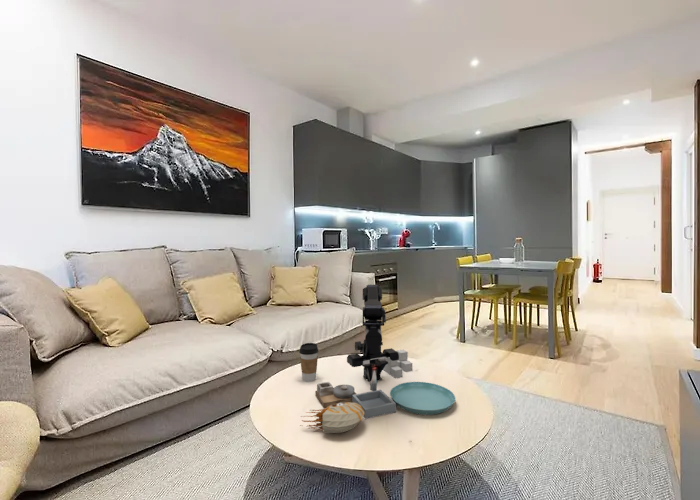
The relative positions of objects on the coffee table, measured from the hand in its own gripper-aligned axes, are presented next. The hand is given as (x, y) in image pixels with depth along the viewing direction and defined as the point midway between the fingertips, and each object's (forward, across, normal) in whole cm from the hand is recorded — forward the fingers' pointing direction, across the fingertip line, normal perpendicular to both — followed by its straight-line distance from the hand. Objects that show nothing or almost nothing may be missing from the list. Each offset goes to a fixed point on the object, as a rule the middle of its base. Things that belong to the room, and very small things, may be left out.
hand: (373, 380), depth 132 cm
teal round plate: (+11, -19, +3) cm, 22 cm away
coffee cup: (+11, +15, -34) cm, 39 cm away
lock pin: (+4, 0, 0) cm, 4 cm away
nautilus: (+11, +18, +7) cm, 22 cm away
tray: (+10, 0, 0) cm, 10 cm away
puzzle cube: (+11, -26, -26) cm, 38 cm away
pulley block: (+10, +10, -12) cm, 19 cm away
